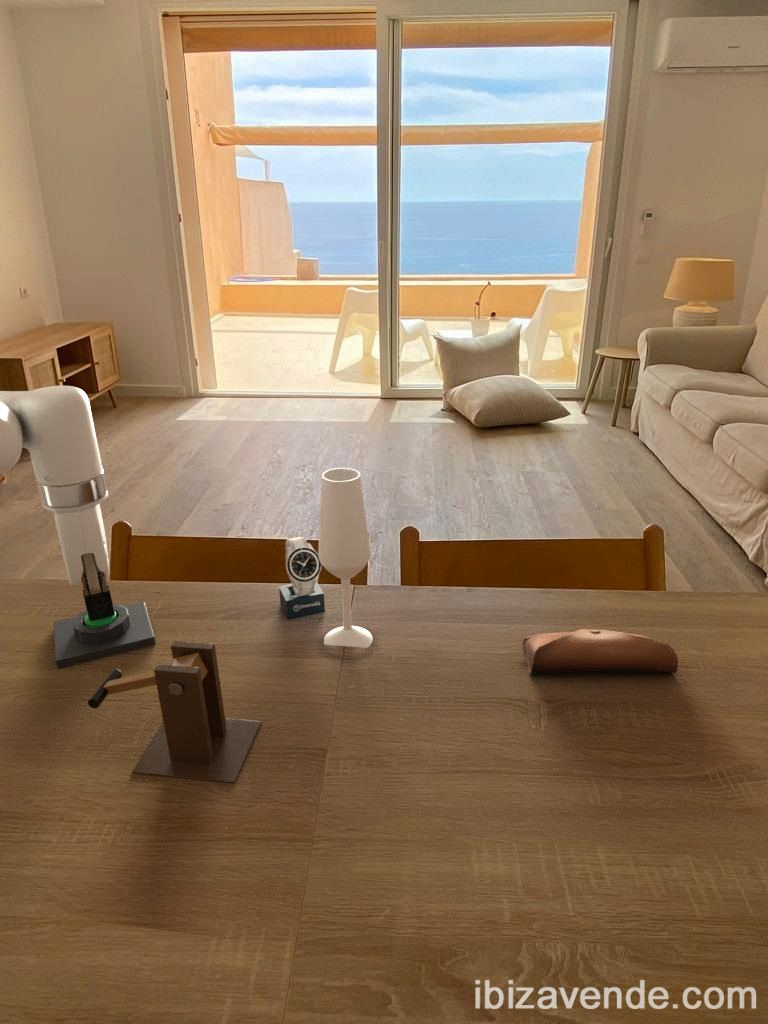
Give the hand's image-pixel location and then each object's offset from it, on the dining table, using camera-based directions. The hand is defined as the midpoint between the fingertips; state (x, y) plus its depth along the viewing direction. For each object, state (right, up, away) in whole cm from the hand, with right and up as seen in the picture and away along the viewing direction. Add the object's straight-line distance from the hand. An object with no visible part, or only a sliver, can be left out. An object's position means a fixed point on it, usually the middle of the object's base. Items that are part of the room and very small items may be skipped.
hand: (101, 615), depth 93 cm
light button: (0, -2, +1) cm, 2 cm away
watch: (+26, 0, +9) cm, 27 cm away
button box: (0, -4, +2) cm, 4 cm away
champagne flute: (+33, -4, +2) cm, 33 cm away
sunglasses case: (+65, -5, -3) cm, 65 cm away
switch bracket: (+18, -12, -18) cm, 28 cm away
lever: (+14, -5, -20) cm, 25 cm away
